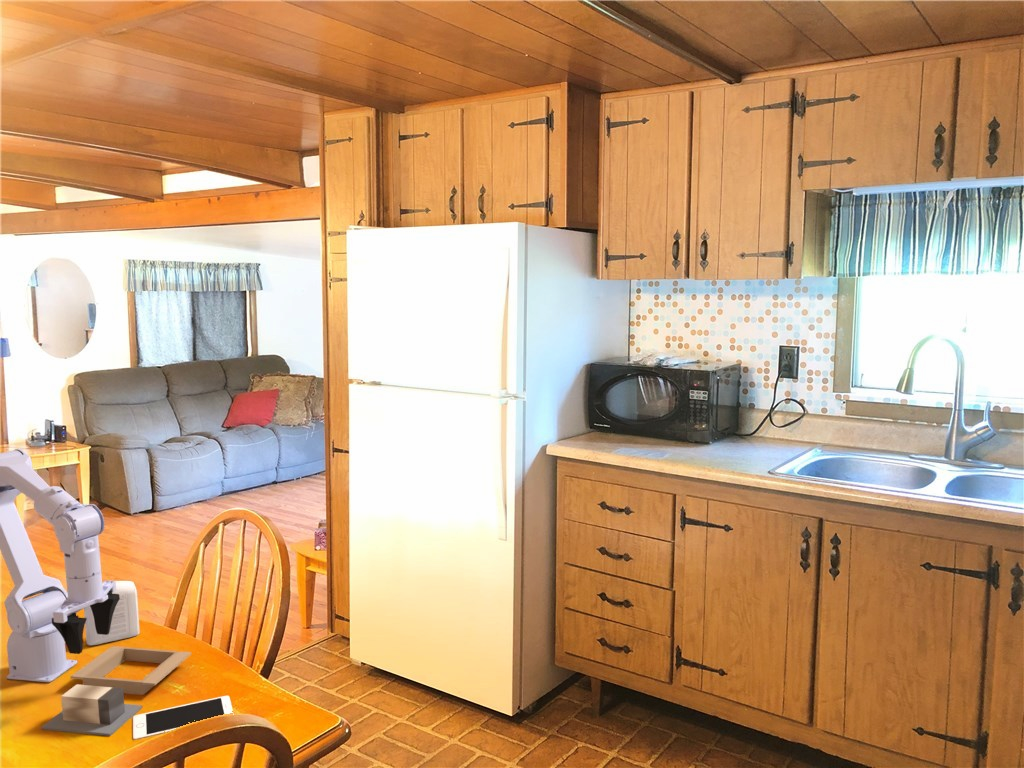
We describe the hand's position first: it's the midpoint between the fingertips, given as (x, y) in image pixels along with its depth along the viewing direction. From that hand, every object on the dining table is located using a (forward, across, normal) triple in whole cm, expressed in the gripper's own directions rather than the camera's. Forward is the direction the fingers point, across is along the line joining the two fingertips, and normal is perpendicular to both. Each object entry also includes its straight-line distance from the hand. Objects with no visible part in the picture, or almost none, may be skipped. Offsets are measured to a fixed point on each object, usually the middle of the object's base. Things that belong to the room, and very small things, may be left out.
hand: (89, 643), depth 151 cm
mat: (+9, -8, -6) cm, 14 cm away
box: (+9, -8, -6) cm, 14 cm away
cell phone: (+10, -6, -22) cm, 24 cm away
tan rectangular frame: (+9, +6, -4) cm, 12 cm away
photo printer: (+10, +20, +10) cm, 24 cm away
